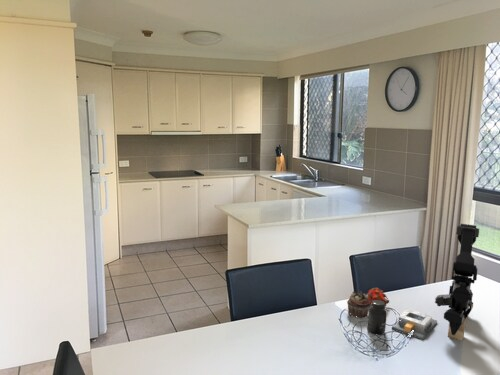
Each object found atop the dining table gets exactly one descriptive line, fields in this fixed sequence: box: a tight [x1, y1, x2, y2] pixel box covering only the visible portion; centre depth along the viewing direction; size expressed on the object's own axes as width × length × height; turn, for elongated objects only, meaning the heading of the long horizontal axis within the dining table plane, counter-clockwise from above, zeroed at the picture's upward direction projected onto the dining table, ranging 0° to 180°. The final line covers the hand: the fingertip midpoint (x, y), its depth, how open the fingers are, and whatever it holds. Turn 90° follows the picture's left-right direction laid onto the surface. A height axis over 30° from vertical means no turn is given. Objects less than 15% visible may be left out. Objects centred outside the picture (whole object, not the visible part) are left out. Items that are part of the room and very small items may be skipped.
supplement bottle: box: [366, 300, 388, 336], centre depth 167 cm, size 7×7×12 cm
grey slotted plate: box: [391, 308, 438, 340], centre depth 173 cm, size 18×12×4 cm, turn 140°
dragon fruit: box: [366, 287, 390, 308], centre depth 190 cm, size 8×8×12 cm
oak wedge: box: [447, 318, 467, 342], centre depth 165 cm, size 3×5×8 cm, turn 50°
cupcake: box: [346, 290, 371, 319], centre depth 181 cm, size 10×10×10 cm
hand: (456, 330), depth 165 cm, fingers open, 9 cm apart
